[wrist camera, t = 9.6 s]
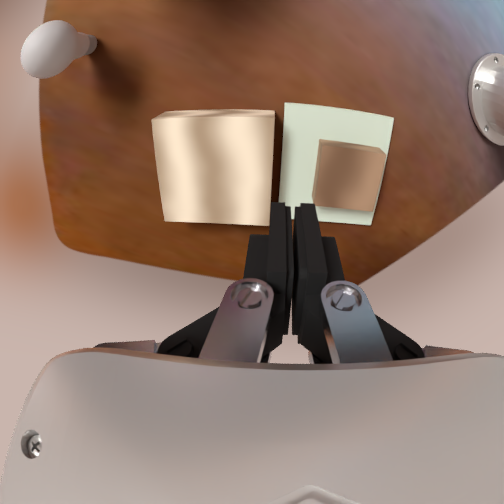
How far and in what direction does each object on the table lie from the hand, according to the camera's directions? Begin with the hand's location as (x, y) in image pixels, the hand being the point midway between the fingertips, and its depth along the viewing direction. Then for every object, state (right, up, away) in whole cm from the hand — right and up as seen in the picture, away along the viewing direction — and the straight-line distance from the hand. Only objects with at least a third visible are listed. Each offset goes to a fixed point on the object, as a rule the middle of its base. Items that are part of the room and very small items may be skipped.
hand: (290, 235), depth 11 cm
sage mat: (+8, +9, +20) cm, 23 cm away
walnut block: (+9, +8, +18) cm, 22 cm away
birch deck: (-5, +10, +20) cm, 23 cm away
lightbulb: (-20, +23, +11) cm, 33 cm away
